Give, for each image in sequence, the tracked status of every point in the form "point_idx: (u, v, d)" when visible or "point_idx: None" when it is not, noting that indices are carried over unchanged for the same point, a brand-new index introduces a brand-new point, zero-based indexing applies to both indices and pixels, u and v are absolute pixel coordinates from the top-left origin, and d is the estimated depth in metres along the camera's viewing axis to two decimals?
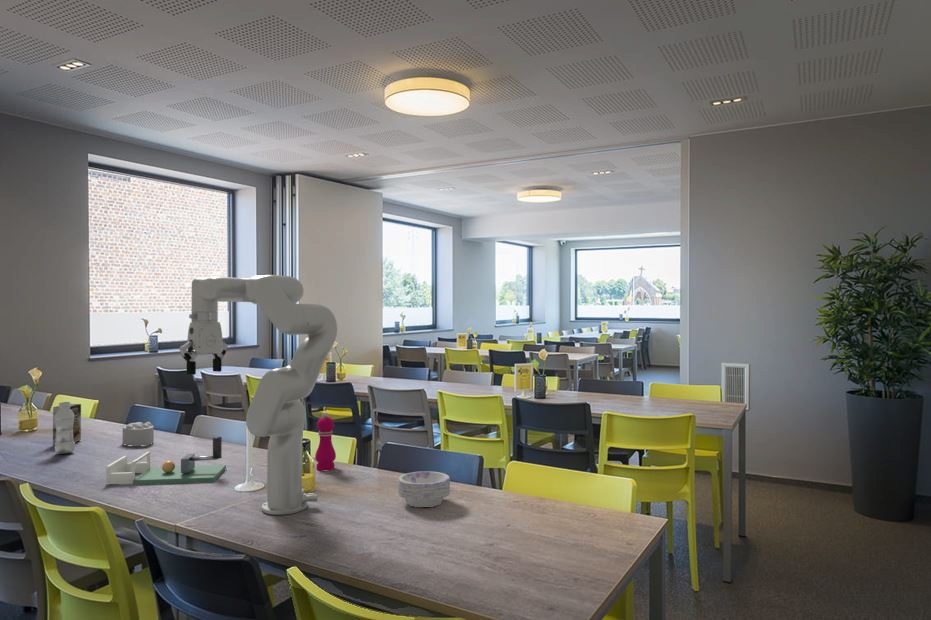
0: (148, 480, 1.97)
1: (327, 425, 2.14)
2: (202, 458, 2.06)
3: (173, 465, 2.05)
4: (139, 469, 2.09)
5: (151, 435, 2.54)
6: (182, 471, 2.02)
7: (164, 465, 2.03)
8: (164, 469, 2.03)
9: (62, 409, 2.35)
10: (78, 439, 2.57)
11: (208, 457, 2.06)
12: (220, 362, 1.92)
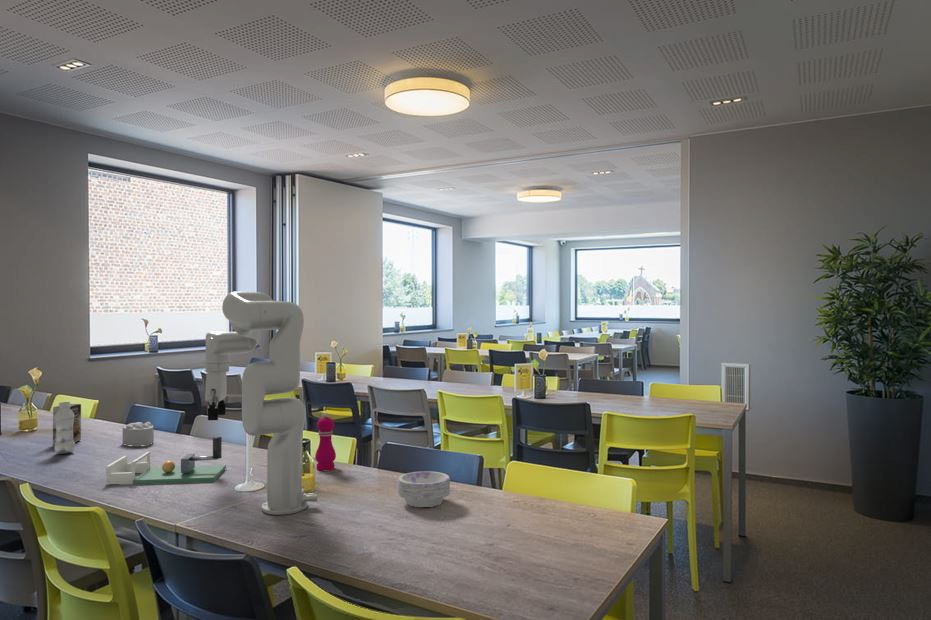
0: (148, 480, 1.97)
1: (327, 425, 2.14)
2: (202, 458, 2.06)
3: (173, 465, 2.05)
4: (139, 469, 2.09)
5: (151, 435, 2.54)
6: (182, 471, 2.02)
7: (164, 465, 2.03)
8: (164, 469, 2.03)
9: (62, 409, 2.35)
10: (78, 439, 2.57)
11: (208, 457, 2.06)
12: None
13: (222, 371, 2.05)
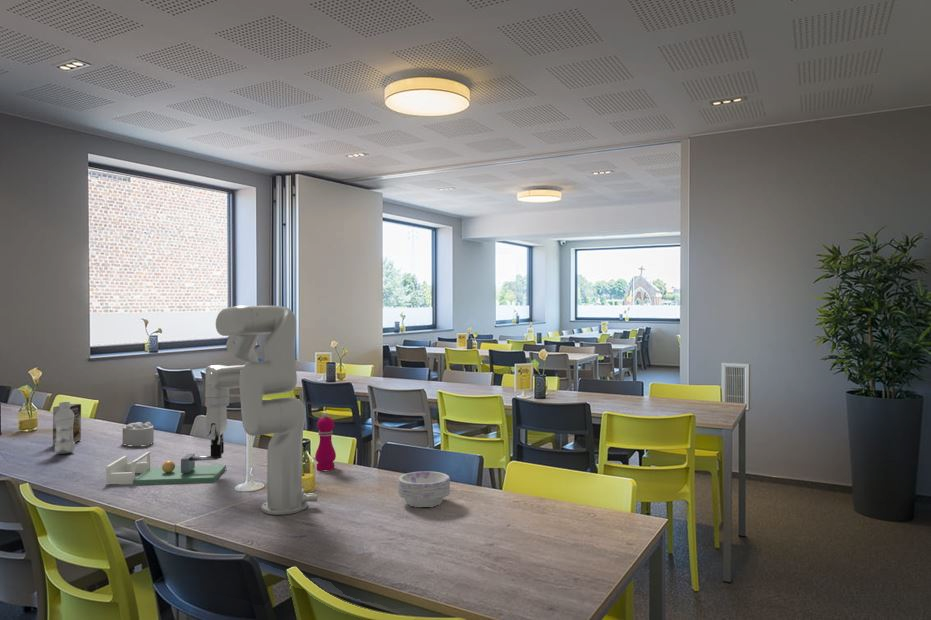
0: (148, 480, 1.97)
1: (327, 425, 2.14)
2: (202, 458, 2.06)
3: (173, 465, 2.05)
4: (139, 469, 2.09)
5: (151, 435, 2.54)
6: (182, 471, 2.02)
7: (164, 465, 2.03)
8: (164, 469, 2.03)
9: (62, 409, 2.35)
10: (78, 439, 2.57)
11: (208, 457, 2.06)
12: None
13: (222, 405, 2.05)
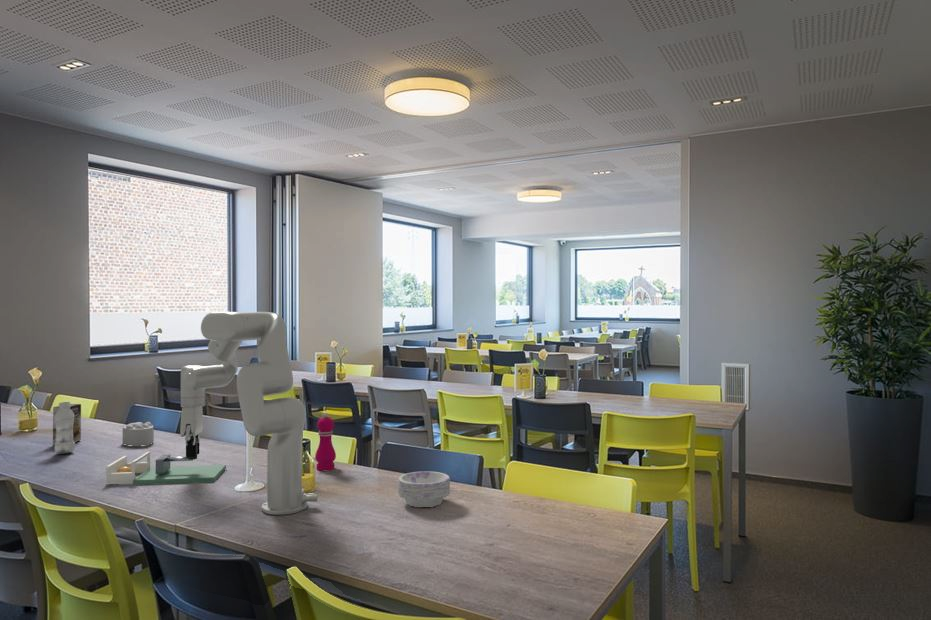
0: (148, 480, 1.97)
1: (327, 425, 2.14)
2: (177, 459, 2.05)
3: (128, 468, 2.03)
4: (139, 469, 2.09)
5: (151, 435, 2.54)
6: (157, 472, 2.01)
7: None
8: None
9: (62, 409, 2.35)
10: (78, 439, 2.57)
11: (183, 458, 2.05)
12: None
13: (197, 405, 2.04)
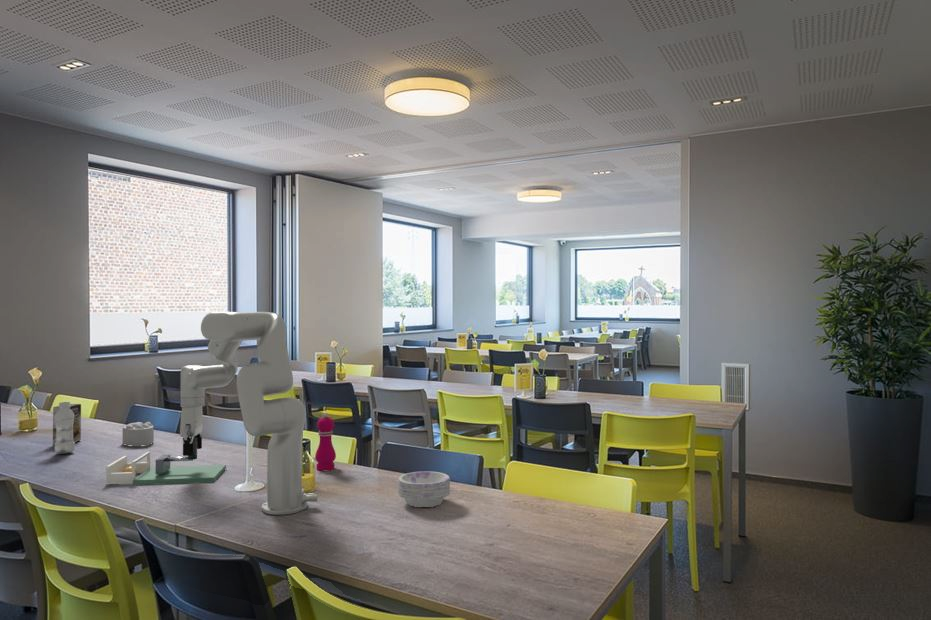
0: (148, 480, 1.97)
1: (327, 425, 2.14)
2: (177, 459, 2.05)
3: None
4: (139, 469, 2.09)
5: (151, 435, 2.54)
6: (157, 472, 2.01)
7: (125, 470, 2.02)
8: None
9: (62, 409, 2.35)
10: (78, 439, 2.57)
11: (183, 458, 2.05)
12: None
13: (197, 405, 2.04)
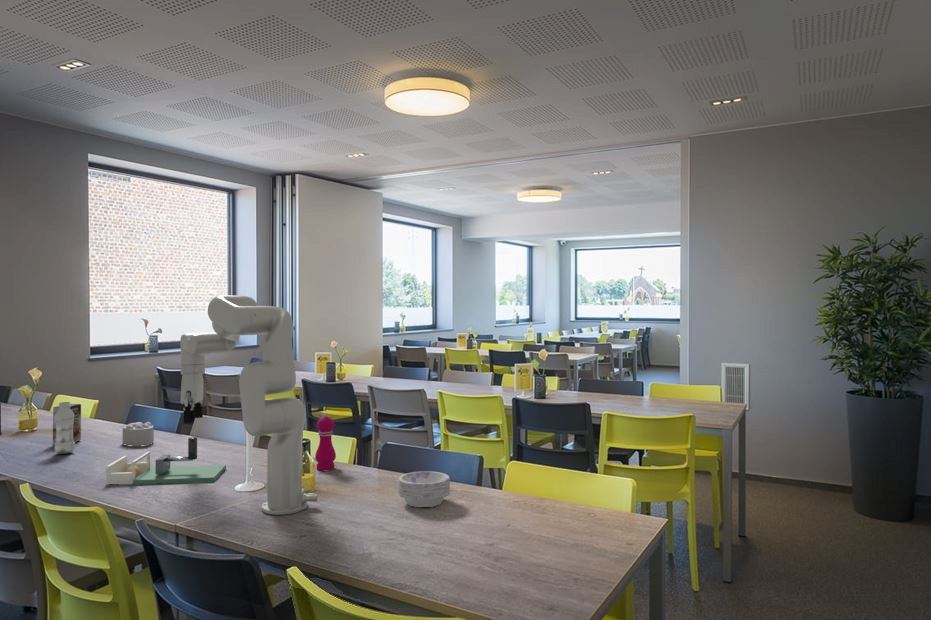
0: (148, 480, 1.97)
1: (327, 425, 2.14)
2: (177, 459, 2.05)
3: (137, 474, 2.03)
4: (139, 469, 2.09)
5: (151, 435, 2.54)
6: (157, 472, 2.01)
7: (130, 470, 2.02)
8: None
9: (62, 409, 2.35)
10: (78, 439, 2.57)
11: (183, 458, 2.05)
12: None
13: (197, 373, 2.03)
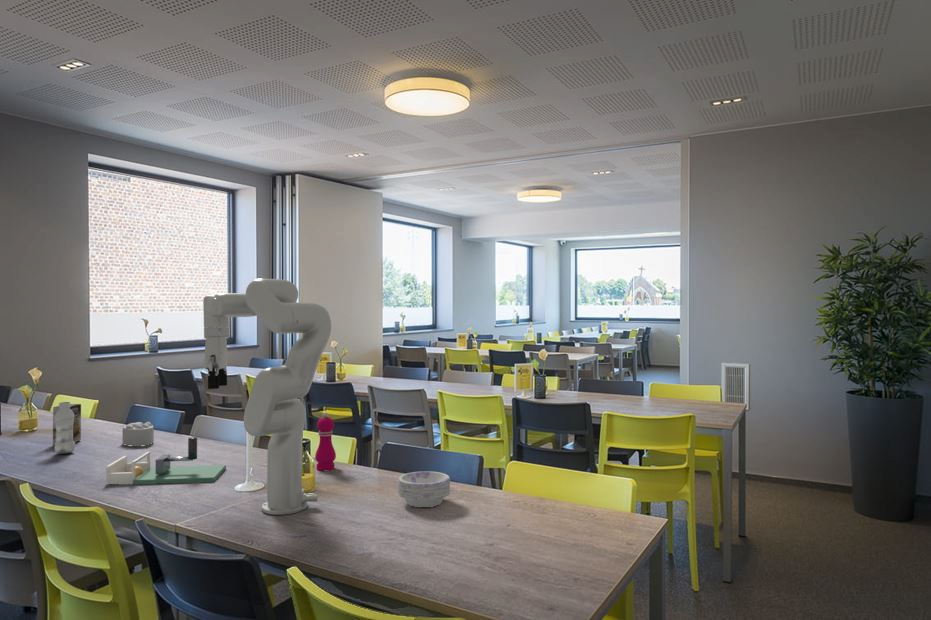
0: (148, 480, 1.97)
1: (327, 425, 2.14)
2: (177, 459, 2.05)
3: None
4: None
5: (151, 435, 2.54)
6: (157, 472, 2.01)
7: (135, 470, 2.02)
8: None
9: (62, 409, 2.35)
10: (78, 439, 2.57)
11: (183, 458, 2.05)
12: None
13: (222, 336, 1.91)
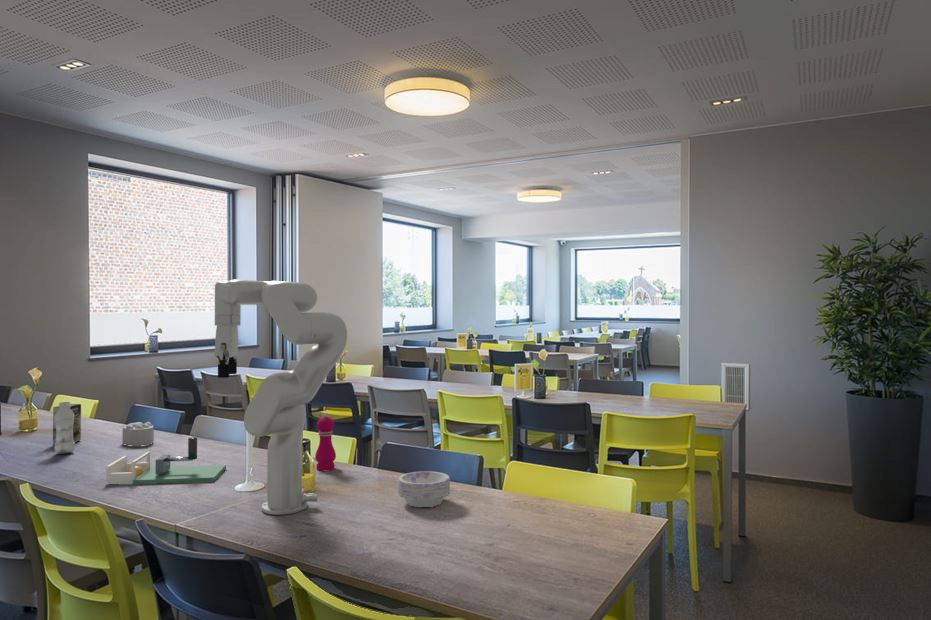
0: (148, 480, 1.97)
1: (327, 425, 2.14)
2: (177, 459, 2.05)
3: None
4: None
5: (151, 435, 2.54)
6: (157, 472, 2.01)
7: (135, 470, 2.02)
8: None
9: (62, 409, 2.35)
10: (78, 439, 2.57)
11: (183, 458, 2.05)
12: None
13: (233, 324, 1.86)
